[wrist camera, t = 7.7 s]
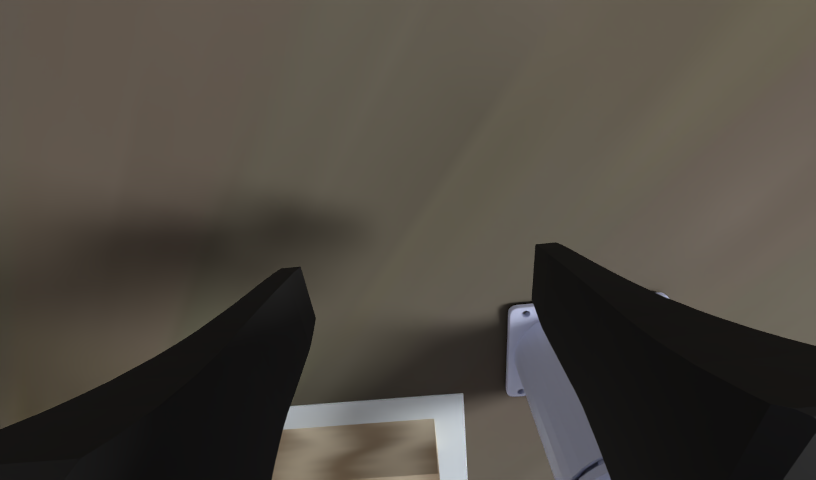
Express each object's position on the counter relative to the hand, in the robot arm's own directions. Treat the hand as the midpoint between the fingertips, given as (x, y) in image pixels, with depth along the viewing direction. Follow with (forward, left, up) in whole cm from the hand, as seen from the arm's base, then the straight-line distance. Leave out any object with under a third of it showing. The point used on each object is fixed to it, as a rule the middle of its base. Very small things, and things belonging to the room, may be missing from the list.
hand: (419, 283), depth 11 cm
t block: (+6, +25, -8) cm, 27 cm away
